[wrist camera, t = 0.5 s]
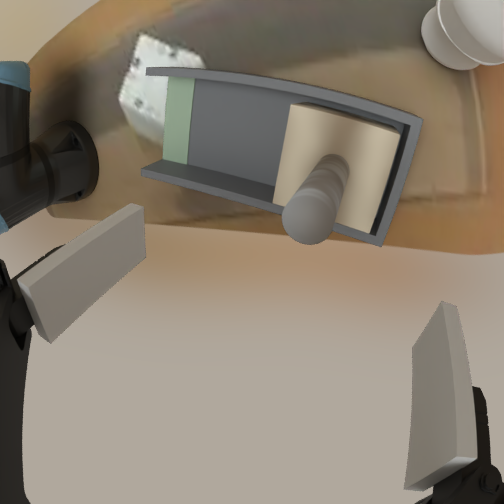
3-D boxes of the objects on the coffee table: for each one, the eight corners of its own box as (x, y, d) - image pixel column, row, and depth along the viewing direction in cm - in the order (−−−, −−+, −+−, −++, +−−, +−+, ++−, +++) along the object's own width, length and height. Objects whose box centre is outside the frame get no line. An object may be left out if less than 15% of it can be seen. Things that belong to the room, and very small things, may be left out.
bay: (167, 163, 43) (141, 175, 38) (174, 67, 35) (146, 67, 31) (381, 224, 36) (381, 247, 32) (414, 114, 29) (423, 119, 24)
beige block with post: (289, 183, 37) (219, 264, 22) (306, 101, 32) (237, 115, 16) (370, 208, 35) (361, 312, 19) (394, 126, 29) (419, 166, 14)
